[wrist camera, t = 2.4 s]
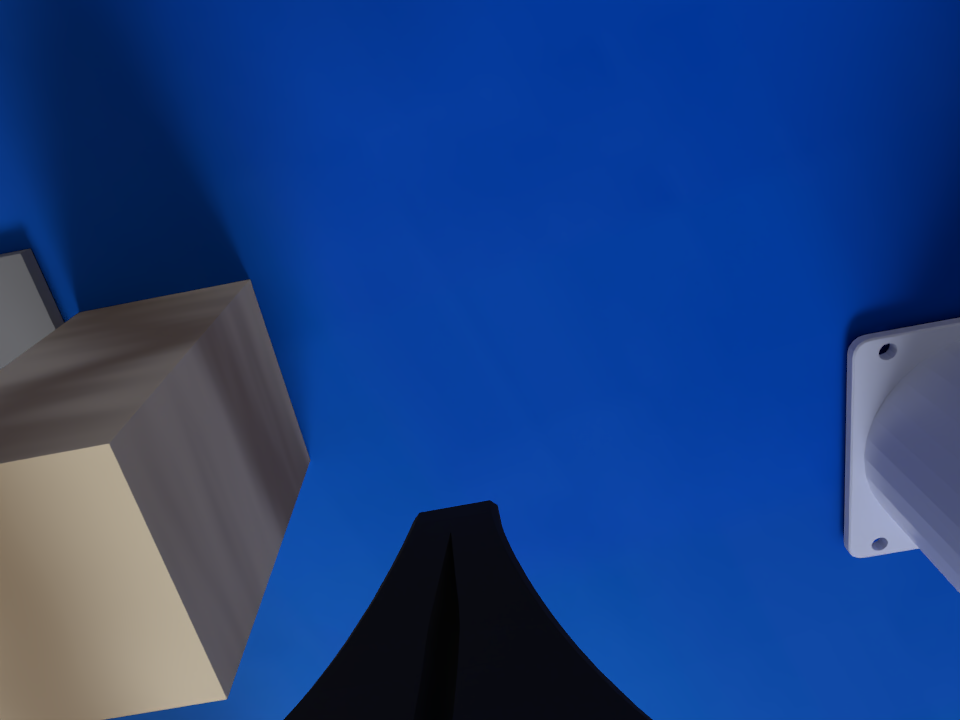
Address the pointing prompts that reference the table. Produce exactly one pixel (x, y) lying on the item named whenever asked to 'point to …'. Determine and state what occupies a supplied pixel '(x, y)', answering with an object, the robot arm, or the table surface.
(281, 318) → the table surface
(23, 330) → the mat
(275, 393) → the maple block
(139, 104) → the table surface
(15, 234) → the table surface
